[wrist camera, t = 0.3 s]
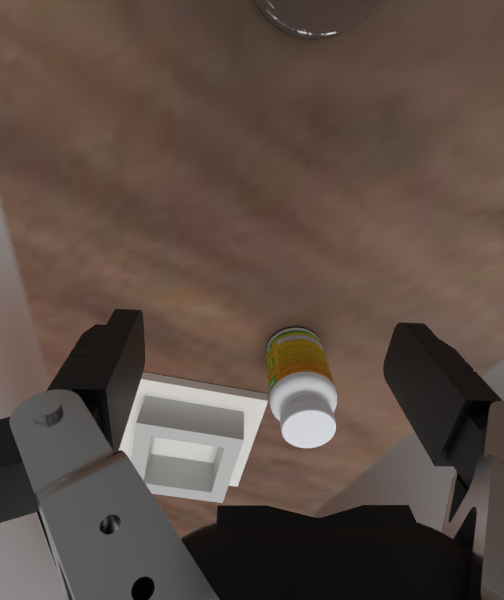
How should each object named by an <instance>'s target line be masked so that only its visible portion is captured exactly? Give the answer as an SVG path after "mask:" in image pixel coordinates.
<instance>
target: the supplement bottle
mask: <svg viewBox="0 0 504 600" xmlns="http://www.w3.org/2000/svg"><path fill="white" fill-rule="evenodd" d="M266 361H267V374H268V387H269V401H270V407H271V410H272V412H273V414H274V416H275V417H276V418H277V419H278V420H279V421H280V423H281V431H282V435H283V437H284V439H285V440H286V441H287V442H288V443H290V444H291V445H293V446H296V447H300V448H314V447H318V446H321V445H323V444H325V443H327V442H328V441H329V440H330V439H331V438H332V437H333V436H334V434H335V431H336V422H335V418H334V413H333V412H334V411H335V408H336V405H337V393H336V389H335V386H334V383H333V379H332V376H331V373H330V369H329V366H328V363H327V359H326V356H325V352H324V349H323V346H322V343H321V341H320V339H319V338H318V337H317V336H316V335H315V334H314V333H313V332H311V331H309V330H307V329H304V328H288V329H285V330H282V331H280V332H279V333H277V334H276V335H274V336H273V337H272V338H271V340H270V341H269V343H268V345H267V349H266Z"/></svg>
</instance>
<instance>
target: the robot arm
mask: <svg viewBox="0 0 504 600" xmlns="http://www.w3.org/2000/svg"><path fill="white" fill-rule="evenodd" d="M254 1H255V3H256V5H257V7H258V8H259V9H260V10H261V12H262V13H263V14H264V15H265V16H266V18H267V19H268V20H269V21H270V22H272V23H273V24H274V25H275V26H277V27H278V28H279V29H280V30H282V31H284V32H286V33H289V34H291V35H293V36H295V37H301V38H307V39H319V38H327V37H330V36H333V35H336V34H339V33H342V32H343V31H345V30H346V29H348V28H350V27H351V26H353V25H354V24H356V23H358V22H359V21H361V20H362V19H364V18H366V17H368V16H369V15H371V14H372V13H374V12H375V11H377V10H379V9H380V8H382V7H383V6H385V5H386V4H388V3H389V2H391V1H392V0H254ZM144 364H145V342H144V324H143V313H142V311H141V310H130V309H115V310H114V312H113V314H112V316H111V317H110V319H109V321H108V323H107V325H98V324H96V325H94V326H93V327H92V328H90V329H89V330H87V331H86V332H84V333H83V334H82V335H81V337H80V339H79V340H78V342H77V343H76V345H75V348H73V350H72V351H71V353H70V354H69V357H68V358H67V359H66V361H65V362H64V364H63V366H62V367H61V369H60V370H59V372H58V373H57V375H56V377H55V378H54V380H53V381H52V383H51V385H50V386H49V388H48V389H47V391H44V392H41V393H38V394H35V395H33V396H31V397H29V398H27V399H26V400H25V401H23V402H21V403H20V404H19V405H18V406H17V407H16V408H15V409H14V411H13V412H12V414H11V416H10V417H8V418H4V419H0V523H1V522H4V521H8V520H11V519H14V518H18V517H21V516H24V515H28V514H31V513H34V512H36V514H37V517H38V520H39V523H40V526H41V528H42V531H43V534H44V537H45V540H46V543H47V546H48V548H49V551H50V554H51V557H52V560H53V563H54V566H55V568H56V571H57V574H58V577H59V580H60V582H61V586H62V589H63V592H64V595H65V598H66V600H504V401H502V400H501V399H500V398H499V396H498V395H497V394H496V393H495V392H494V391H493V390H492V389H491V388H490V387H489V386H488V385H487V383H486V382H485V381H484V380H483V379H482V378H481V377H480V376H479V375H478V374H477V373H476V372H473V368H472V367H471V366H470V365H469V364H468V363H467V362H465V360H464V359H463V358H462V357H461V355H460V354H459V353H458V352H457V351H456V350H455V349H454V348H452V347H451V346H449V345H447V344H446V343H444V342H443V341H441V340H440V339H438V338H437V337H436V336H435V335H434V334H433V332H432V331H431V330H430V329H429V328H428V327H427V326H426V325H425V324H422V323H398V324H397V325H396V327H395V329H394V332H393V335H392V338H391V342H390V345H389V348H388V351H387V354H386V357H385V361H384V367H383V370H384V377H385V380H386V382H387V384H388V385H389V387H390V389H391V391H392V392H393V394H394V396H395V398H396V399H397V401H398V403H399V405H400V406H401V408H402V410H403V412H404V413H405V415H406V417H407V419H408V420H409V422H410V424H411V426H412V427H413V429H414V431H415V433H416V434H417V436H418V438H419V440H420V441H421V443H422V445H423V446H424V448H425V450H426V452H427V453H428V455H429V457H430V459H431V460H432V462H433V464H434V466H454V468H455V469H456V473H455V475H454V477H453V479H452V484H451V488H450V493H449V498H448V503H447V508H446V513H445V518H444V523H443V528H442V532H439V531H437V530H435V529H433V528H431V527H428V526H425V525H423V524H420V523H417V522H416V520H415V518H414V516H413V514H412V511H411V509H410V507H409V505H363V506H360V507H356V508H353V509H349V510H346V511H343V512H339V513H336V514H332V515H329V516H326V517H322V518H314V517H310V516H306V515H302V514H298V513H294V512H290V511H286V510H282V509H278V508H274V507H270V506H218V507H217V521H216V522H215V523H212V524H209V525H205V526H203V527H201V528H199V529H196V530H194V531H192V532H190V533H189V534H187V535H185V536H184V537H182V538H181V539H180V537H179V536H178V534H177V533H176V531H175V529H174V528H173V526H172V525H171V523H170V522H169V520H168V518H167V517H166V515H165V514H164V512H163V511H162V509H161V508H160V506H159V504H158V503H157V501H156V500H155V498H154V497H153V495H152V493H151V492H150V490H149V489H148V487H147V486H146V484H145V482H144V481H143V479H142V478H141V476H140V475H139V473H138V472H137V470H136V468H135V467H134V465H133V464H132V462H131V461H130V459H129V458H128V456H127V455H126V454H125V452H123V451H122V450H119V448H120V444H121V441H122V438H123V435H124V432H125V429H126V425H127V422H128V419H129V416H130V413H131V409H132V406H133V403H134V400H135V397H136V393H137V390H138V387H139V384H140V381H141V377H142V374H143V370H144Z"/></svg>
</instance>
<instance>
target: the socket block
mask: <svg viewBox="0 0 504 600" xmlns="http://www.w3.org/2000/svg"><path fill="white" fill-rule="evenodd" d="M267 402H268V394H265V393H260V392H254V391H248V390H243V389H237V388H231V387H225V386H220V385H214V384H208V383H203V382H197V381H191V380H186V379H180V378H174V377H169V376H163V375H157V374H152V373H146V372H143V374H142V377H141V381H140V384H139V387H138V390H137V393H136V397H135V400H134V403H133V406H132V409H131V413H130V416H129V419H128V422H127V425H126V429H125V432H124V435H123V438H122V441H121V444H120V448H119V450H122V451H123V452H125V454H126V455H127V456H128V458H129V459H130V461H131V462H132V464H133V465H134V467H135V468H136V470H137V472H138V473H139V475H140V476H141V478H142V479H143V481H144V482H145V484H146V486H147V487H148V489H149V490H150V492H151V493H152V494H159V495H167V496H174V497H182V498H189V499H196V500H204V501H211V502H218V503H223V500H224V497H225V494H226V491H227V488H228V485H229V486H236V487H238V484H239V481H240V478H241V475H242V473H243V470H244V467H245V464H246V461H247V459H248V456H249V453H250V450H251V447H252V445H253V442H254V439H255V436H256V433H257V431H258V428H259V425H260V422H261V419H262V417H263V414H264V411H265V408H266V405H267Z"/></svg>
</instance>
